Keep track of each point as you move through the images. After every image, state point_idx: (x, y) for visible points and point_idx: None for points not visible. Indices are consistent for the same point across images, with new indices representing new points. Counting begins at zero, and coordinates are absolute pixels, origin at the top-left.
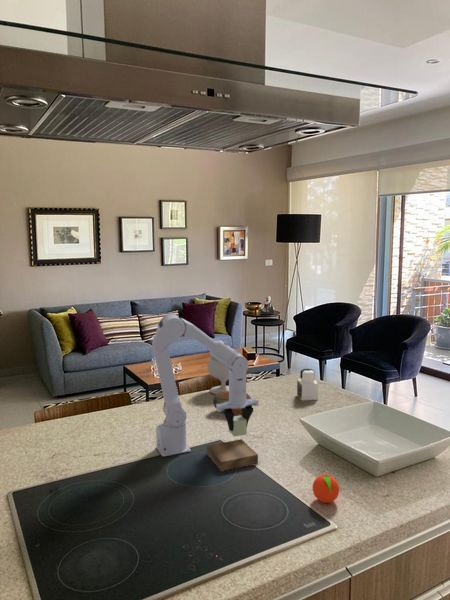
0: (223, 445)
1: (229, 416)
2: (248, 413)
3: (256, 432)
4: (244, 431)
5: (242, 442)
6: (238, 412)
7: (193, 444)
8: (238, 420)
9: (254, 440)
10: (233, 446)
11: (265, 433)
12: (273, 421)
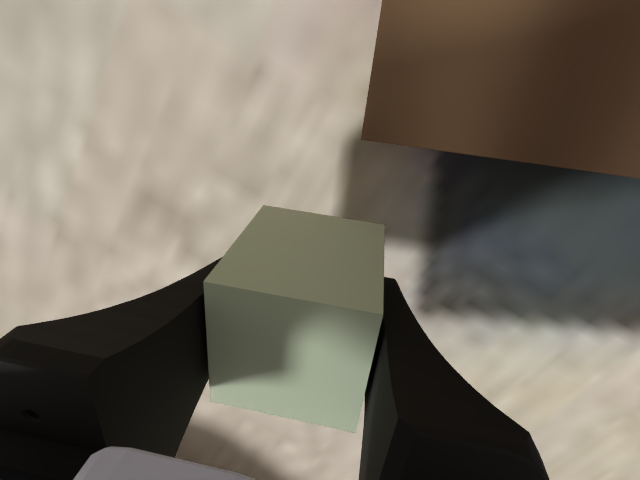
0: (628, 104)
1: (485, 409)
2: (120, 332)
3: (154, 271)
4: (275, 220)
5: (400, 58)
6: None
7: (618, 353)
8: (305, 321)
9: (213, 180)
10: (559, 11)
11: (103, 229)
12: (16, 325)
